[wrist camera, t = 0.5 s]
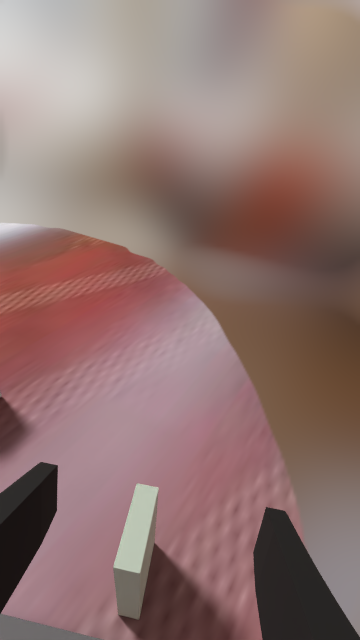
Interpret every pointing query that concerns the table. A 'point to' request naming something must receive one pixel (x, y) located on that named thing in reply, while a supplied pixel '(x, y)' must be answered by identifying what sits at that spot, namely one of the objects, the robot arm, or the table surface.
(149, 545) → the domino
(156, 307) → the table surface
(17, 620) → the charcoal mat
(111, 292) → the table surface
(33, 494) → the robot arm
